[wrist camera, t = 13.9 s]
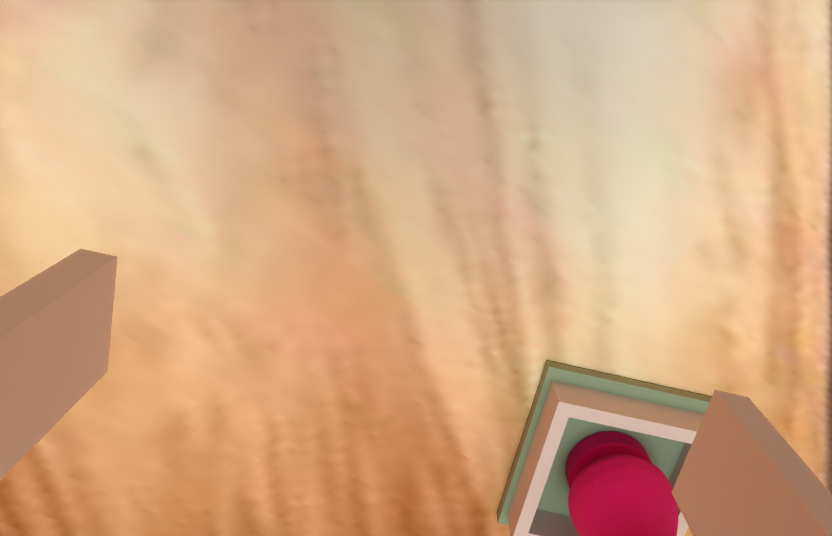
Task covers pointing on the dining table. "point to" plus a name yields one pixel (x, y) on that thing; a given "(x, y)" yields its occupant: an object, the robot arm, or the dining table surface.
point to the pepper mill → (618, 489)
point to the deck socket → (584, 416)
